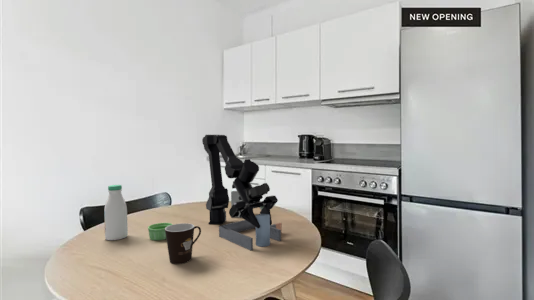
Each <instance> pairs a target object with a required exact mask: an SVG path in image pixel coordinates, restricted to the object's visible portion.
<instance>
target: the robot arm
mask: <svg viewBox="0 0 534 300" xmlns="http://www.w3.org/2000/svg"><path fill="white" fill-rule="evenodd" d="M201 143H202V144H203V149H204V150H205V152H206V153H207V155H208V163H209V172H210V180H211V181H210V182H211V187H210V188H211V189H210V190H209V192H208V198H207V201H206V202H205V209H206V210H207V211H209V222H208V225H224V224H225V222H226V221H227V211H226V209H229V211H228V214H229V216H230V218H231V219H233V218H239V219H243V220H246V221H248V222H250V223H251V224H252V225H254V226H255V227H257V228H260V225H259V222H258V220H257V218H256V217H255V215H256V214H255V213H254V209H258V208H259V209H260V211H259V214H269V215H270V225H273V221H272V214H271V210H272V209H273V208H274V206H275V205H276V204H277V203H278V201H279V200H278V198H277V196H276V195H269V196H268V195H267V194H268V192H270V190H271V188H270V185H269V184H268V183H267V182H264V183H262V184H259V185H255V186H253V185H252V182H253V181H255V178H256V176H257V175H258V173H259V171H260V166H259V165H258V164H257V163H256V162H254V161H251V159H250V158H246V159H244V160H242V159H240V158H238V157H237V155H236V153H235V152H234V150H233V148H232V146H231V144H230V143H229V141H228V136H227V135H225V134H205V135H204V136H203V137H202V142H201ZM220 155H221V156H220ZM221 158H222V159H223V161H224V164H225V166H224V172H225V175H226V176H227V178H228V179H234V180H233V181H232V185H231V188H232V189H236V190H237V192H238V194H239V195H240V196H239V200H242V201H240V202H234V204H233V205H232V207H230V208H229V202H230V197H229V196H230V195H229V190H228V188H226V187H225V186H224V184H223V183H224V182H223V175H222V167H221ZM265 195H267V196H265ZM263 196H265V198H264V197H263ZM263 198H264V199H263ZM262 199H263V200H262ZM239 212H240V214H241V215H240V216H239ZM238 216H239V217H238Z"/></svg>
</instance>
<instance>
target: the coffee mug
mask: <svg viewBox="0 0 534 300" xmlns="http://www.w3.org/2000/svg"><path fill="white" fill-rule="evenodd" d="M172 224H173V223H172ZM195 229H198V234H197V236H196V238H195V239H194V236H195ZM165 233H166V239H165V240H166V244H167V245H166V246H167V252H168V258H169V262H170V264H172V265H180V264H181V265H182V264H186V263H188V262H191V260H192V257H193V256H192V254H193V245H195V243H196V242H197V241H198V239H199V238H200V236H201V233H202V228H201V227H200V226H199V225H197V226H195V225H194V224H193V223H189V222H188V223H186V222H182V223H174V224H173V225H170V226H167V227H166V228H165Z"/></svg>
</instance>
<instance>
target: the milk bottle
mask: <svg viewBox="0 0 534 300" xmlns="http://www.w3.org/2000/svg"><path fill="white" fill-rule="evenodd" d="M107 190H108V197H107V200H106V201H105V204H104V213H103V214H104V217H103V218H104V238H105V240H106V241H118V240H122V239H125V238H127V237H128V235H129V234H128V233H129V232H128V231H129V230H128V227H129V226H128V207H127V202H126V201H125V199H124V197H123V194H122V190H123V185H122V184H112V185H108V187H107Z"/></svg>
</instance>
